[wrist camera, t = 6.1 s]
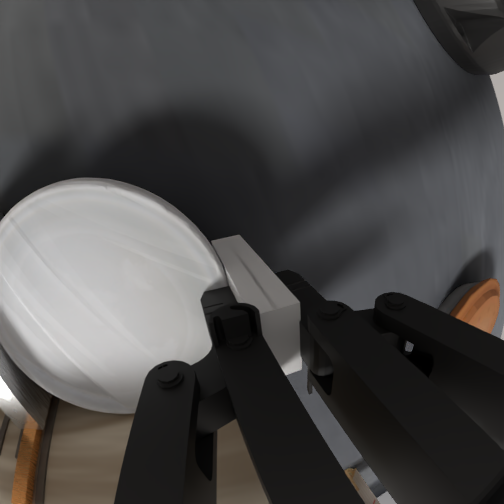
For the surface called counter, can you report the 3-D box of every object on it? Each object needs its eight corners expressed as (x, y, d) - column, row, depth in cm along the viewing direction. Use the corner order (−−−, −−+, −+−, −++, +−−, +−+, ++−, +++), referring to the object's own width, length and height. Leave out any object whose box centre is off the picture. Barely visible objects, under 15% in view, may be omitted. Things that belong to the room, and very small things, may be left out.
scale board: (-35, 371, 12) (-74, 473, 1) (255, 325, 18) (352, 488, 7) (-28, 380, 12) (-63, 483, 2) (257, 338, 18) (347, 495, 7)
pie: (441, 262, 22) (480, 284, 18) (491, 269, 28) (517, 284, 23) (383, 388, 27) (407, 415, 22) (447, 364, 32) (468, 382, 28)
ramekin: (13, 308, 12) (-21, 360, 8) (64, 133, 11) (16, 127, 6) (163, 373, 17) (170, 435, 12) (247, 228, 15) (286, 266, 11)
